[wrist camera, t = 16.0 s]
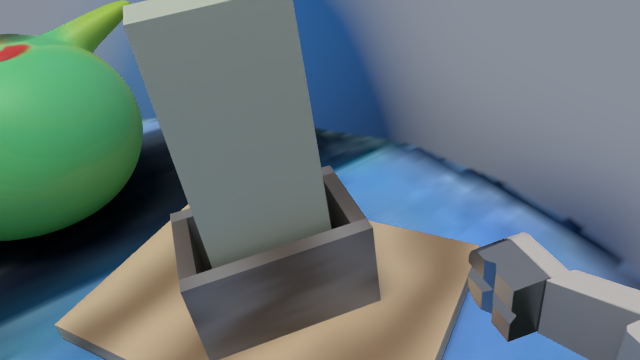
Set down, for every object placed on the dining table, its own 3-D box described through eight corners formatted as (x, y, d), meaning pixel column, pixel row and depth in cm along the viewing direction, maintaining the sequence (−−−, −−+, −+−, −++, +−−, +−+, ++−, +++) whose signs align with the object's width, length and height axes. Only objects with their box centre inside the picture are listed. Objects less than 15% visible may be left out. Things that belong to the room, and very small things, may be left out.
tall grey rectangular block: (234, 329, 26) (123, 25, 17) (221, 274, 30) (122, -2, 21) (341, 290, 27) (290, -14, 18) (316, 242, 31) (262, -33, 22)
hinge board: (63, 338, 29) (11, 260, 25) (213, 197, 38) (190, 126, 35) (388, 499, 20) (375, 410, 16) (479, 260, 29) (483, 173, 26)
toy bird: (-116, 276, 36) (-281, 90, 28) (38, 151, 50) (-44, 0, 41) (96, 292, 32) (-28, 75, 23) (203, 150, 45) (148, -21, 37)
